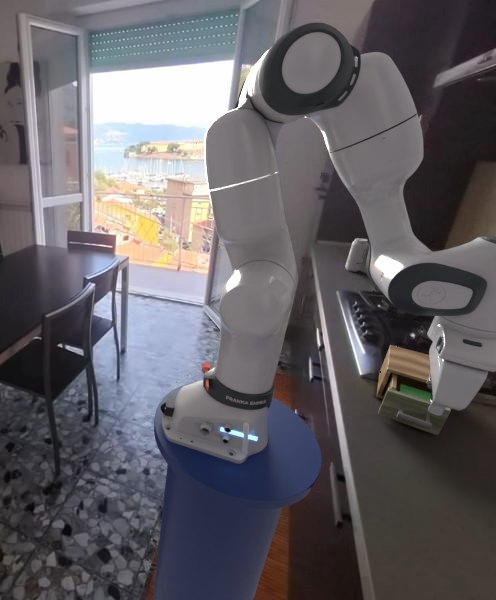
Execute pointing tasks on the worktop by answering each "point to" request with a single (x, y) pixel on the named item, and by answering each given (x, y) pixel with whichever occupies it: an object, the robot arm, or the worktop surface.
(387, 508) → the worktop surface
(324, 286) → the worktop surface
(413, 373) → the cabinet
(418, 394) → the block
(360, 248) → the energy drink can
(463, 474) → the worktop surface
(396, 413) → the drawer
